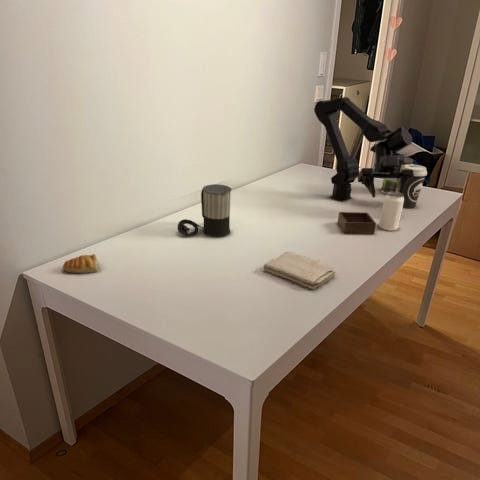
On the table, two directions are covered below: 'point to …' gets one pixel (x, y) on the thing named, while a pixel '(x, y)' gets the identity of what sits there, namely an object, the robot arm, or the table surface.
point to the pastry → (82, 264)
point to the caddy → (356, 223)
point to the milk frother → (212, 212)
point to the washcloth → (300, 269)
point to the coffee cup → (413, 185)
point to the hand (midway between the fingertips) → (387, 197)
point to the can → (391, 211)
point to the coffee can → (391, 183)
